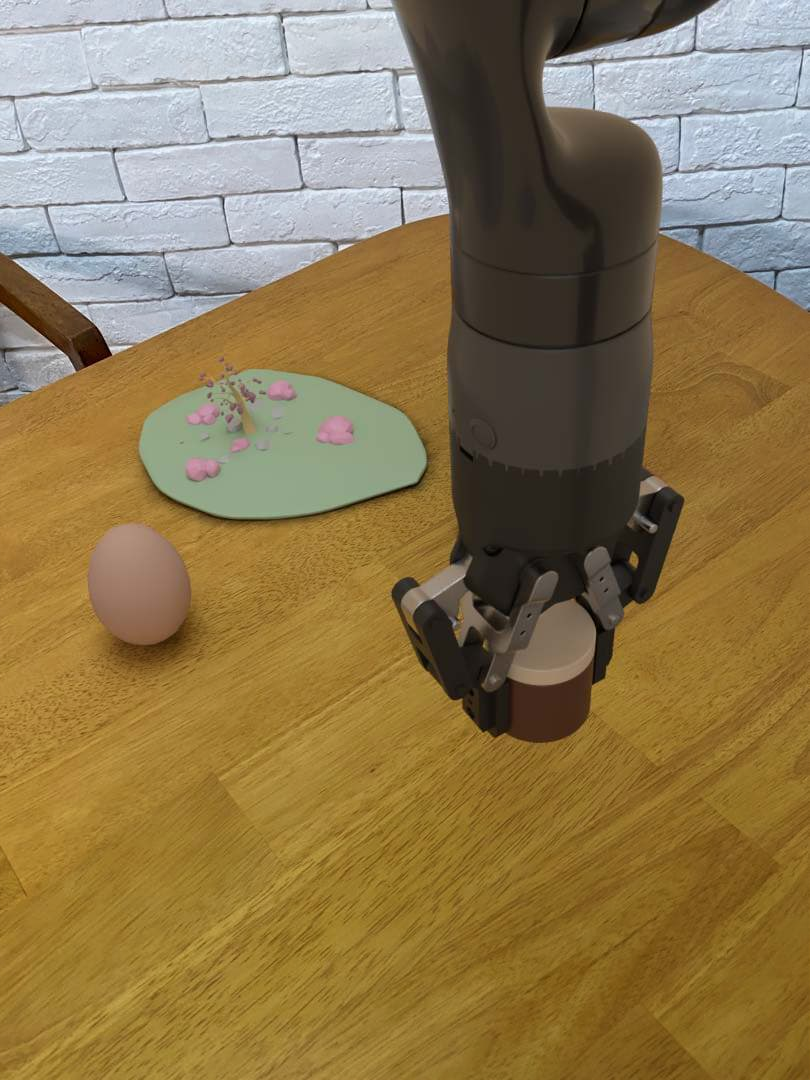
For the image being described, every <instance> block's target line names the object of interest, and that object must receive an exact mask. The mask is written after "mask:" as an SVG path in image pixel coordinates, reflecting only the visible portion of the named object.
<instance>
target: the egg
mask: <svg viewBox="0 0 810 1080" xmlns="http://www.w3.org/2000/svg"><path fill="white" fill-rule="evenodd" d="M88 566H89V567H88V571H87V575H86V576H87V589H88V596H89V600H90V603H91V606H92V608H93V611H94V613H95V616H96V618H97V619H98V621H99V622H100V623H101V625H102V626H103V627H104V628H105V629H106V630H107V631H108V632H109V633H110V634H111V635H113V636H115V637H116V638H118V639H120V640H122V641H123V642H124V643H128V644H131V645H136V646H137V645H138V646H152V645H157V644H160V643H161V642H165V641H166V640H168V638H170V637H171V636H173V635H174V634H175V633H177V632H178V630H179V629H180V627H181V626H182V624H183V623H184V622H185V619H186V618H187V616H188V614H189V610H190V606H191V602H192V601H191V600H192V585H191V577H190V575H189V572H188V568H187V566H186V563H185V560H184V559H183V557H182V555H181V554H180V552H179V551H178V550H177V548H176V547H175V546H174V545H173V544H172V543H171V541H169V540H168V538H166V536H164V535H163V534H161V532H159V531H158V530H156V529H154V528H152V527H150V526H148V525H145V524H143V523H135V522H127V523H123V524H118V525H115V526H114V527H112V528H111V529H109V530H107V531H106V532H105V533H104V534H103V535H102V536H101V537H100V539H98V542H97V543H96V545H95V547H94V548H93V550H92V554H91V557H90V561H89V565H88Z"/></svg>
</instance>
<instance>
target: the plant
mask: <svg viewBox="0 0 810 1080" xmlns="http://www.w3.org/2000/svg"><path fill="white" fill-rule="evenodd" d="M224 360H225V356H220V357H219V358H218V362H219V363H222V366H223V370H224V373H222V374H220V378H221V379H220V380H215V379H214V378H212V377H211V375H210V374H207V373H206V372H202V373H201V374H200V376H199V377H198V380H199V382H200V381H201V382H202V381H203V380H204V378H205V376H209V377H206V379H209V380H208V381H206V382H205V385H203V386H201V387H199V388H198V387H197V388H195V389H194V390H191V391H188V392H185V393H182V394H180V395H177V396H176V397H175V398H172V399H171V400H169V401H168V402H166V403H164V404H163V405H161V406H159V407H158V408H156V409H155V410H153V411H151V413H150V414H149V415H148V416H147V417H146V418H145V420H144V421H143V425H142V429H141V434H140V438H139V439H140V440H139V443H138V453H139V457H140V460H141V461H142V464H143V466H144V468H145V470H146V472H147V473H148V475H149V477H150V479H151V481H152V483H153V484H154V485H155V488H157V489H158V490H159V491H160V492H162V494H164V495H165V496H167V497H168V498H170V499H171V500H174V501H176V502H178V503H180V504H182V505H185V506H188V507H190V508H193V509H196V510H198V511H200V512H204V513H206V514H209V515H212V516H215V517H219V518H224V519H232V520H279V519H289V518H298V517H304V516H311V515H316V514H321V513H326V512H329V511H333V510H336V509H340V508H343V507H347V506H349V505H353V504H356V503H358V502H362V501H365V500H368V499H372V498H374V497H378V496H381V495H385V494H387V493H390V492H394V491H397V490H400V489H403V488H407V487H410V486H414V485H416V484H418V482H419V481H420V479H421V477H422V476H423V474H424V472H425V471H426V469H427V467H428V457H427V456H428V454H427V450H426V447H425V446H424V443H423V441H422V438H421V437H420V435H419V433H418V431H417V430H416V428H415V426H414V425H413V423H412V421H411V420H410V419H409V418H408V416H407V415H406V414H404V413H403V412H402V411H400V410H399V409H398V408H396V407H394V406H392V405H390V404H387V403H385V402H383V401H380V400H378V399H375V398H373V397H371V396H368V395H366V394H364V393H362V392H359V391H356V390H354V389H352V388H350V387H347V386H345V385H342V384H339V383H337V382H335V381H331V380H329V379H326V378H323V377H320V376H314V375H308V374H302V373H294V372H286V371H280V370H275V369H265V368H250V369H246V370H243V371H240V372H239V371H238V370H233V369H234V366H233V365H230V364H229V363H228V362H226V363H224ZM228 364H229V365H228ZM232 370H233V371H232ZM231 373H233V375H230V374H231Z"/></svg>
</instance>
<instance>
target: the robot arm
mask: <svg viewBox="0 0 810 1080" xmlns="http://www.w3.org/2000/svg"><path fill="white" fill-rule="evenodd" d="M720 1H721V0H390V3H391V6H392V8H393V12H394V15H395V17H396V21H397V23H398V26H399V29H400V32H401V34H402V35H401V36H402V38H403V41H404V43H405V46H406V49H407V52H408V54H409V58H410V61H411V63H412V66H413V69H414V72H415V76H416V79H417V82H418V85H419V88H420V91H421V95H422V98H423V102H424V105H425V109H426V113H427V116H428V120H429V125H430V128H431V132H432V136H433V139H434V144H435V148H436V151H437V155H438V159H439V162H440V163H439V164H440V167H441V171H442V176H443V180H444V185H445V189H446V196H447V202H448V203H447V204H448V212H449V213H448V215H449V216H448V217H449V259H450V260H449V263H450V292H451V295H450V296H451V310H450V312H451V315H450V324H449V331H448V339H447V350H446V376H447V377H446V378H447V404H448V406H447V407H448V428H449V429H448V431H449V457H450V459H449V460H450V485H451V486H450V487H451V498H452V499H451V500H452V505H453V508H454V513H455V517H456V521H457V526H458V532H457V537H456V540H455V542H454V545H453V547H452V549H451V551H450V555H449V566H447V567H446V568H444V569H443V570H441V571H440V572H438V573H436V574H435V575H434V576H432V577H431V578H430V579H428V580H427V581H424V582H423V583H422V584H420V583H419V582H418V581H417V580H416V579H415V578H414V577H411V576H405V577H403V578H401V579H399V580H397V582H396V583H395V584H394V585H393V587H392V589H391V593H390V595H391V598H392V601H393V603H394V605H395V606H394V607H395V609H396V611H397V613H398V615H399V617H400V620H401V622H402V625H403V628H404V629H405V633H406V634H407V637H408V639H409V641H410V645H411V646H412V648H413V651H414V653H415V655H416V658H417V660H418V663H419V665H421V667H422V668H423V669H424V671H426V672H427V673H429V674H430V675H431V676H432V678H433V679H434V680H435V681H436V682H437V683H438V685H439V686H440V687H441V688H442V690H443V692H444V693H445V694H446V696H447V697H448V698H449V699H450V700H451V701H459V700H461V708H462V711H463V712H464V713H465V714H466V715H467V716H468V718H469V719H470V720H471V721H472V722H473V723H474V725H475V726H476V727H477V728H478V729H479V730H480V731H481V732H482V734H484V733H486V732H487V733H488V734H489V735H490V736H491V737H492V738H493V739H496V738H499V737H500V736H502V735H504V734H506V732H508V731H509V696H510V682H509V681H508V680H507V679H506V677H507V675H508V672H509V669H510V667H511V664H512V661H513V659H514V656H515V653H516V651H521V650H525V649H526V648H527V647H528V645H529V642H530V639H531V637H532V634H533V631H534V629H535V626H536V624H537V621H538V618H539V616H540V615H541V614H542V613H543V612H545V611H546V610H548V609H549V608H550V607H552V606H553V605H554V604H557V603H560V602H564V601H568V600H573V601H575V602H576V603H578V604H579V605H581V606H582V607H583V608H584V609H585V610H586V611H587V612H588V613H589V615H590V616H591V618H592V620H593V622H594V625H595V628H596V642H595V654H594V666H593V679H592V686H594V685H596V684H597V683H600V682H601V681H603V680H605V679H606V676H607V667H608V666H609V665H610V663H611V661H612V658H613V653H614V642H615V633H616V627H618V626H619V624H621V622H622V621H623V619H624V617H625V611H624V609H625V608H626V607H627V606H629V604H631V603H632V602H634V603H636V604H637V605H642V604H645V603H647V602H648V601H649V600H650V599H651V598H652V597H653V596H654V594H655V592H656V589H657V585H658V583H659V579H660V577H661V574H662V571H663V567H664V564H665V562H666V560H667V556H668V553H669V550H670V547H671V544H672V541H673V538H674V534H675V532H676V529H677V526H678V522H679V520H680V517H681V514H682V511H683V508H684V505H685V497H684V496H683V495H682V494H680V493H679V492H677V490H675V489H674V488H673V487H671V486H670V485H669V484H667V483H665V482H664V481H663V480H662V479H660V478H659V477H658V476H657V475H655V474H654V473H652V472H651V471H650V470H649V469H647V468H646V467H644V465H643V464H644V455H645V445H646V435H647V425H648V417H649V408H650V407H649V406H650V397H651V388H652V379H653V372H654V371H653V370H654V369H653V368H654V331H653V317H652V316H653V311H652V310H653V300H654V290H655V281H656V280H655V279H656V271H657V261H658V249H659V240H660V228H661V227H660V226H661V219H662V218H661V217H662V205H663V193H664V171H663V166H662V165H663V164H662V161H661V157H660V152H659V149H658V147H657V145H656V143H655V141H654V140H653V138H652V137H651V135H649V134H648V133H647V131H646V130H645V129H643V128H642V127H641V126H640V125H638V124H636V123H634V122H633V121H631V120H629V119H628V118H625V117H623V116H621V115H618V114H615V113H612V112H608V111H602V110H598V109H593V108H584V107H571V106H548V105H547V104H546V101H545V95H544V87H543V81H544V80H543V76H544V71H545V64H546V62H547V61H551V60H555V59H559V58H564V57H569V56H572V55H577V54H580V53H586V52H589V51H590V52H591V51H594V50H597V49H598V50H599V49H602V48H607V47H610V46H615V45H620V44H624V43H629V42H633V41H636V40H637V41H638V40H641V39H646V38H649V37H653V36H656V35H659V34H662V33H665V32H667V31H669V30H672V29H674V28H677V27H679V26H681V25H683V24H685V23H687V22H689V21H691V20H693V19H695V18H696V17H698V16H699V15H701V14H703V13H704V12H705V11H707V10H709V9H710V8H712V7H713V6H714V5H715V6H716V4H718V3H719V2H720ZM632 553H633V554H635V555H636V557H637V560H638V562H637V565H636V567H635V566H634V565H633V564H632V563H631V562H630V560H631V556H632ZM460 612H461V616H462V619H463V622H462V621H461V620H460V619H459V618H458V617H459V614H460ZM506 616H507V617H509V618H507V617H506ZM458 630H460V631H459V634H458V638H457V637H456V633H455V631H458ZM485 639H486V640H487V641H488V644H489V650H488V651H487V650H486V649H485V646H484V645H485Z"/></svg>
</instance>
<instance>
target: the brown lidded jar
mask: <svg viewBox="0 0 810 1080" xmlns="http://www.w3.org/2000/svg"><path fill="white" fill-rule="evenodd" d="M506 617H507V616H506ZM507 618H509V617H507ZM595 642H596V628H595V625H594V622H593V620H592V618H591V616H590V615H589V613H588V612H587V611H586V610H585V609H584V608H583V607H582V606H581V605H579V604H578V603H576V602H575V601H574V600H573V599H571V600H568V601H564V602H560V603H557V604H554V605H553V606H552V607H550V608H549V609H548V610H546V611H545V612H543V613H542V614H541V615H540V616H539V618H538V621H537V624H536V626H535V629H534V631H533V634H532V637H531V639H530V642H529V645H528V647H527V648H526V649H525V650H521V651H516V653H515V656H514V659H513V661H512V664H511V667H510V669H509V672H508V675H507V677H506V679H507V680H508V681H509V682H510V696H509V731H508V732H506V733H505V734H506V735H508V737H511V738H514V739H515V740H519V741H523V742H527V743H533V744H546V743H548V744H549V743H554V742H557V741H561V740H563V739H566V738H568V737H570V736H572V735H574V734H575V733H576V732H577V731H579V730H580V728H581V727H582V726H583V725H584V724H585V723H586V722H587V719H588V717H589V714H590V710H591V704H592V703H591V702H592V689H593V685H592V679H593V666H594V654H595ZM484 648H485V649H486V650H487V651H488V650H489V644H488V641H487V640H486V639H485V641H484Z"/></svg>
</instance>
